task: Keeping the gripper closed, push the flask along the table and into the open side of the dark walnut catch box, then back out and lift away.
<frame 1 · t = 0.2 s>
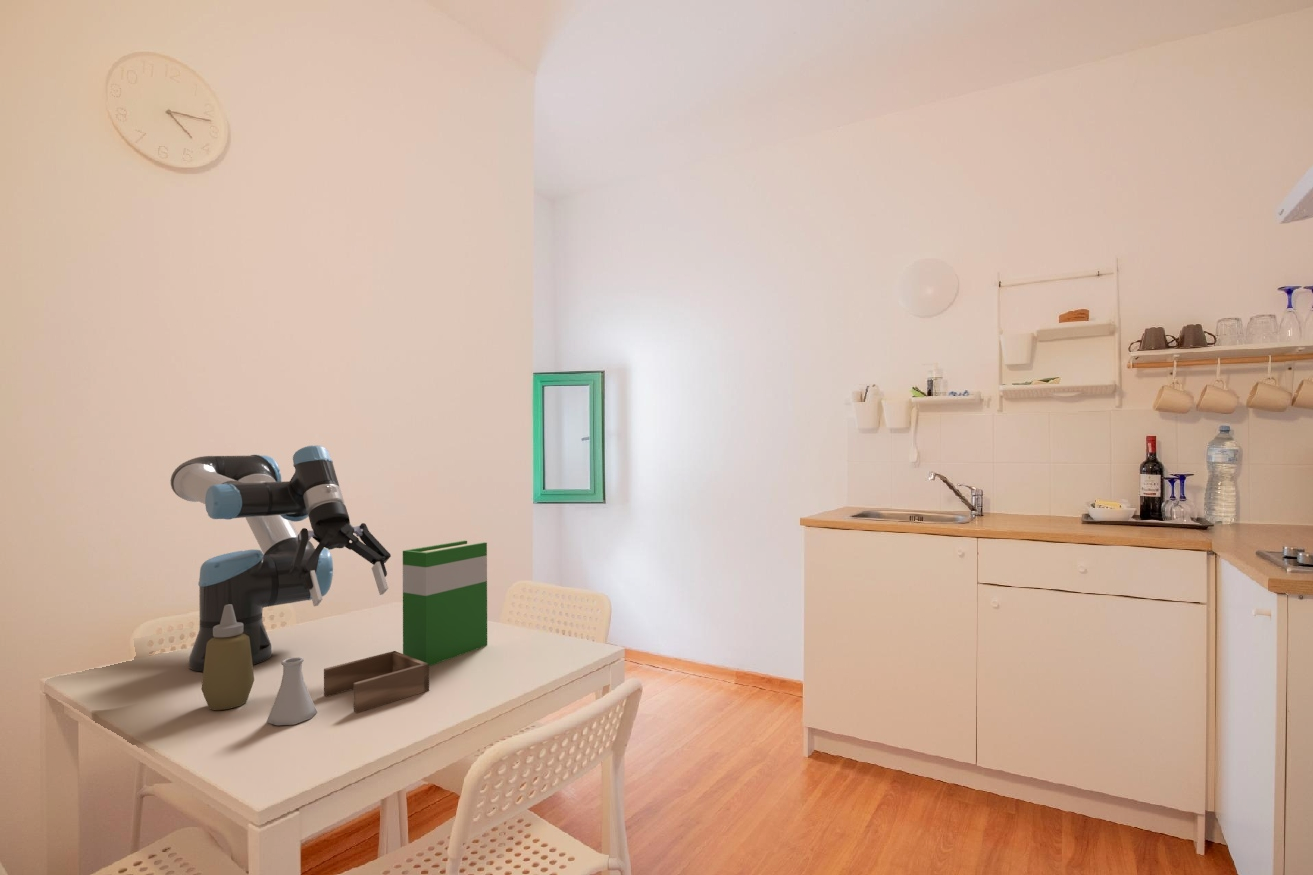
hand: (352, 597, 136), 16 cm above the table, tool tilted 35°, fingers open, 13 cm apart
flask: (292, 719, 114), on the table
hardback book: (446, 653, 149), on the table
squeeze bottle: (228, 705, 120), on the table
catch box: (376, 692, 125), on the table
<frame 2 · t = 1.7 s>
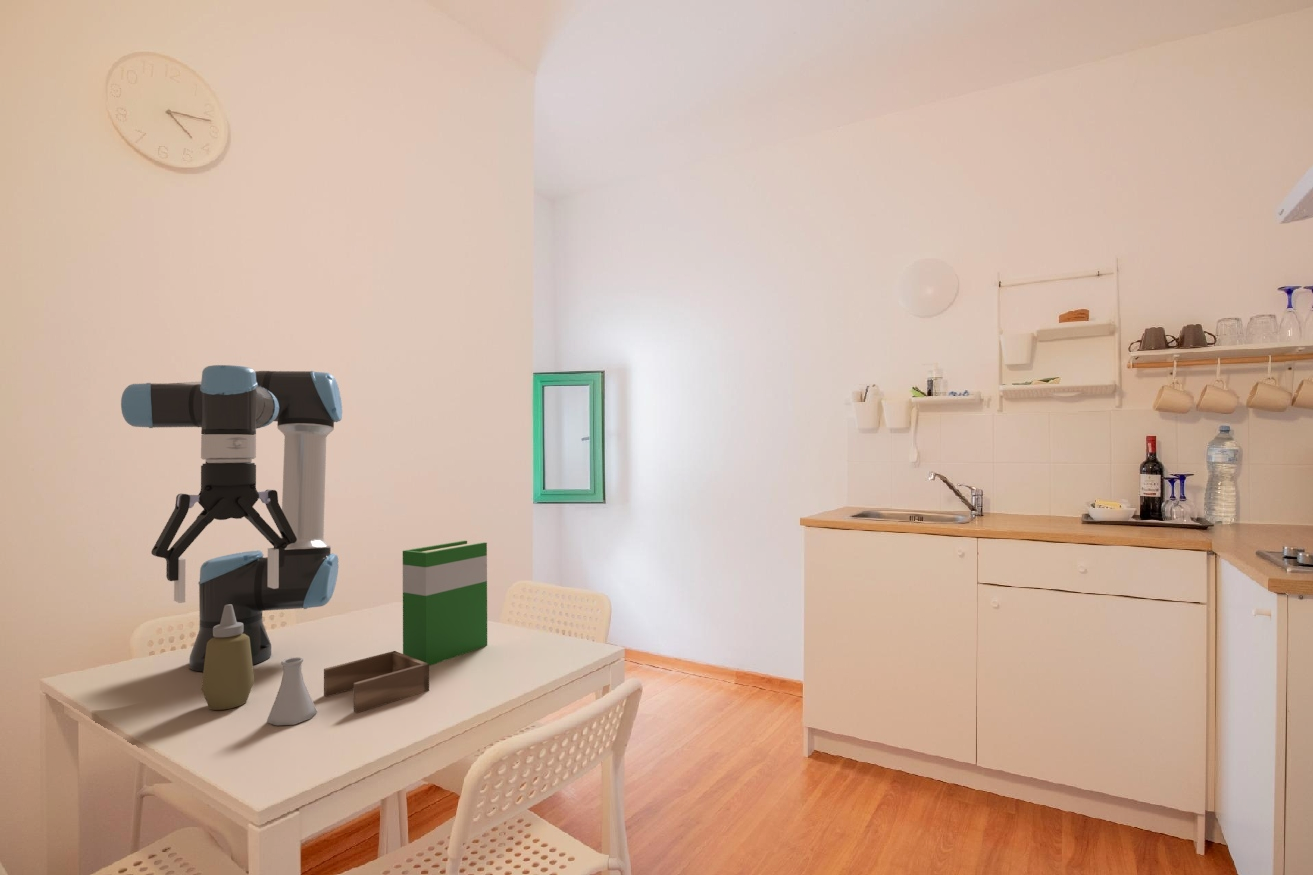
hand: (228, 594, 107), 23 cm above the table, tool pointing down, fingers open, 12 cm apart
nothing on the table moved.
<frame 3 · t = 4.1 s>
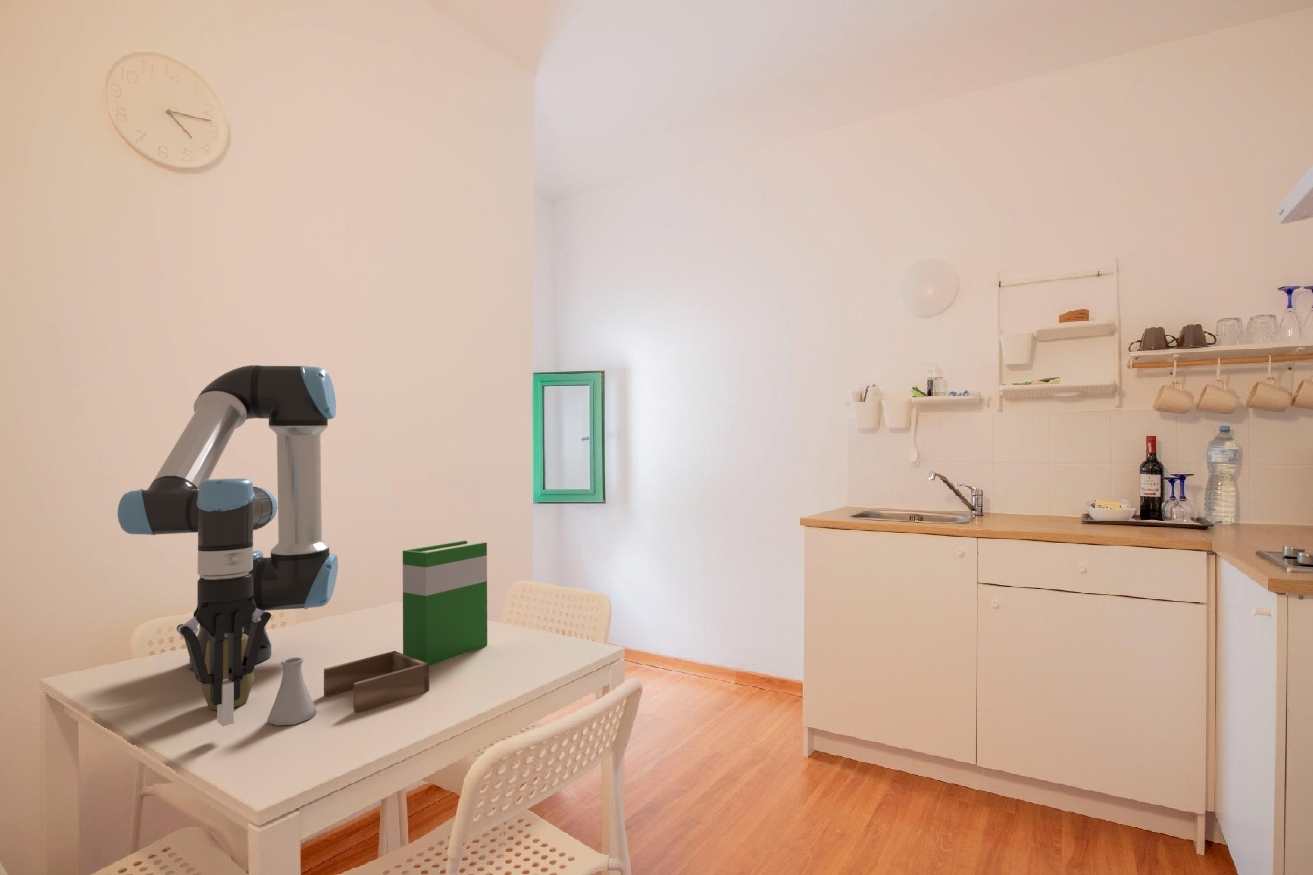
hand: (225, 722, 106), 2 cm above the table, tool pointing down, fingers closed
nothing on the table moved.
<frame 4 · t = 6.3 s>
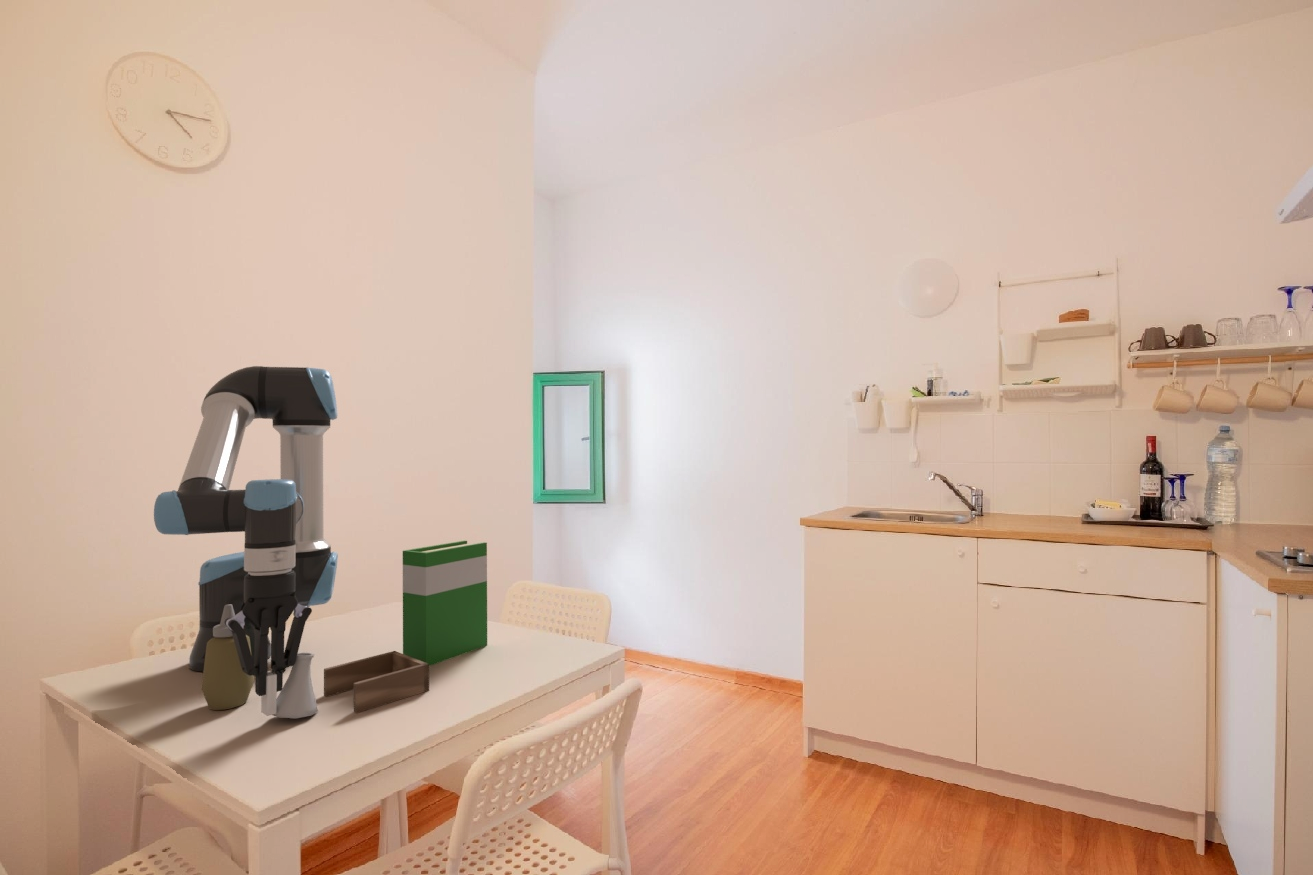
hand: (268, 712, 111), 2 cm above the table, tool pointing down, fingers closed
flask: (292, 715, 114), on the table, touching gripper, hand
everything else where it was.
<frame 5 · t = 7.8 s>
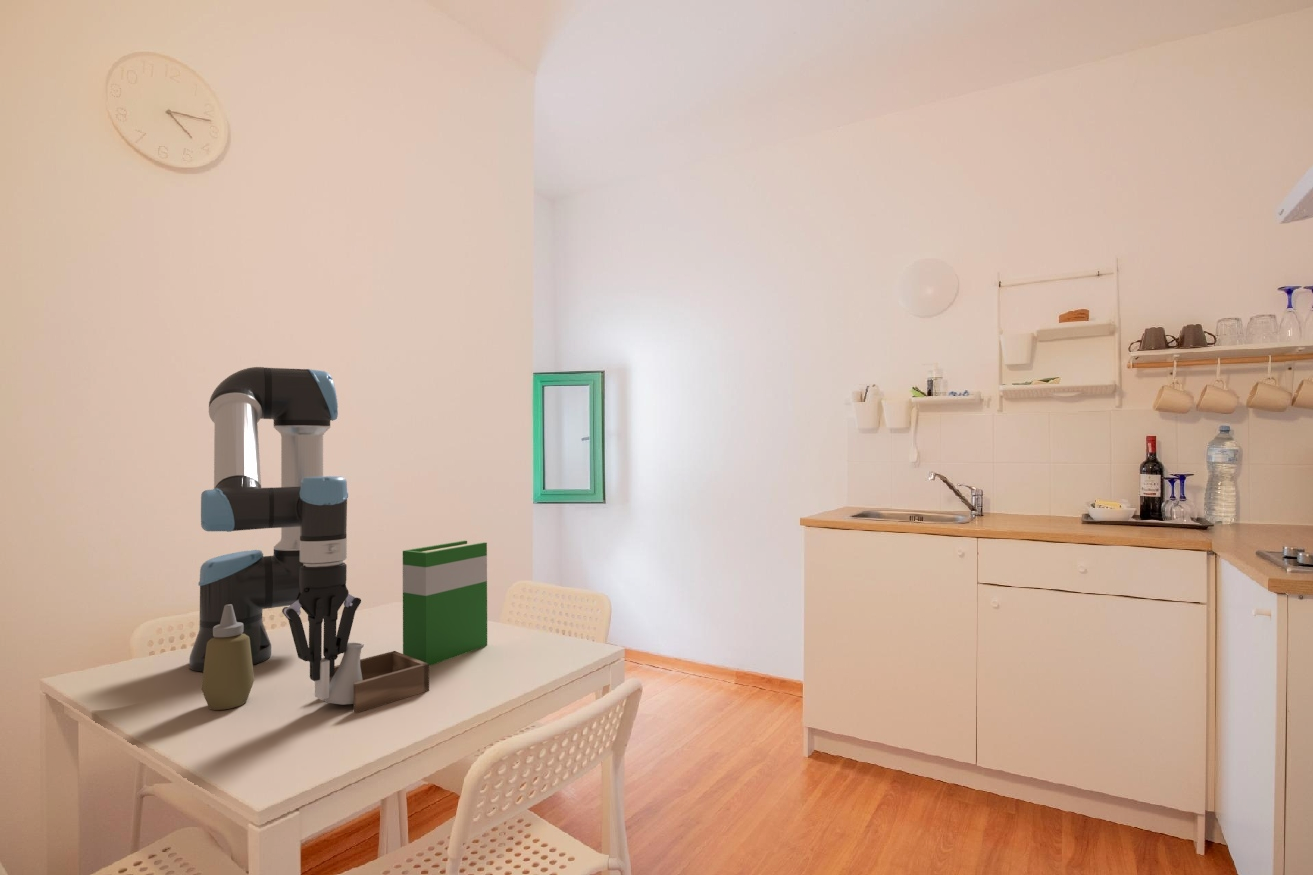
hand: (322, 696, 117), 2 cm above the table, tool pointing down, fingers closed
flask: (343, 701, 120), on the table, touching gripper, hand
everything else where it was.
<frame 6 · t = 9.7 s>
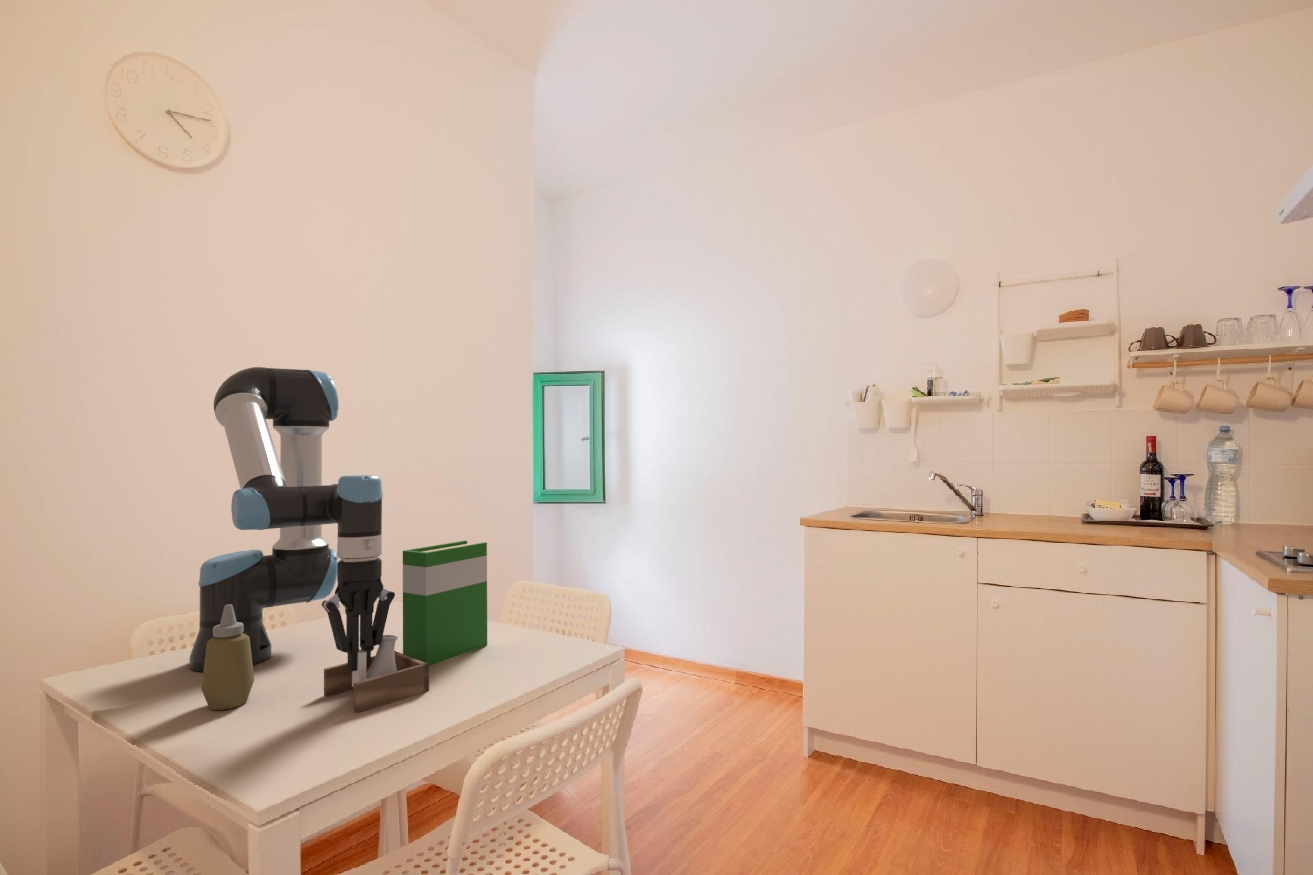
hand: (359, 686, 122), 2 cm above the table, tool pointing down, fingers closed
flask: (379, 691, 125), on the table, touching gripper, hand
everything else where it was.
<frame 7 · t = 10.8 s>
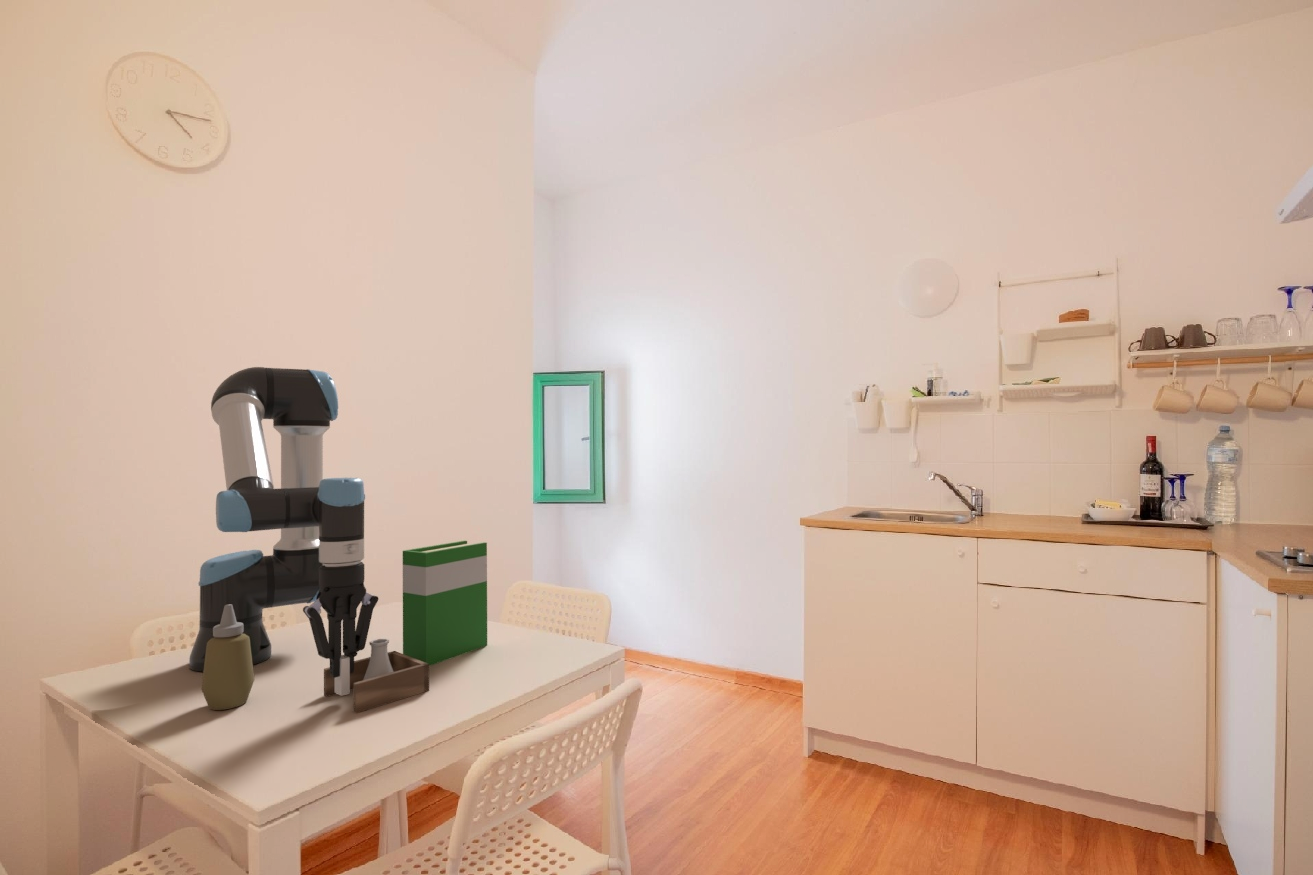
hand: (342, 692, 120), 2 cm above the table, tool pointing down, fingers closed
flask: (379, 695, 125), on the table
everything else where it was.
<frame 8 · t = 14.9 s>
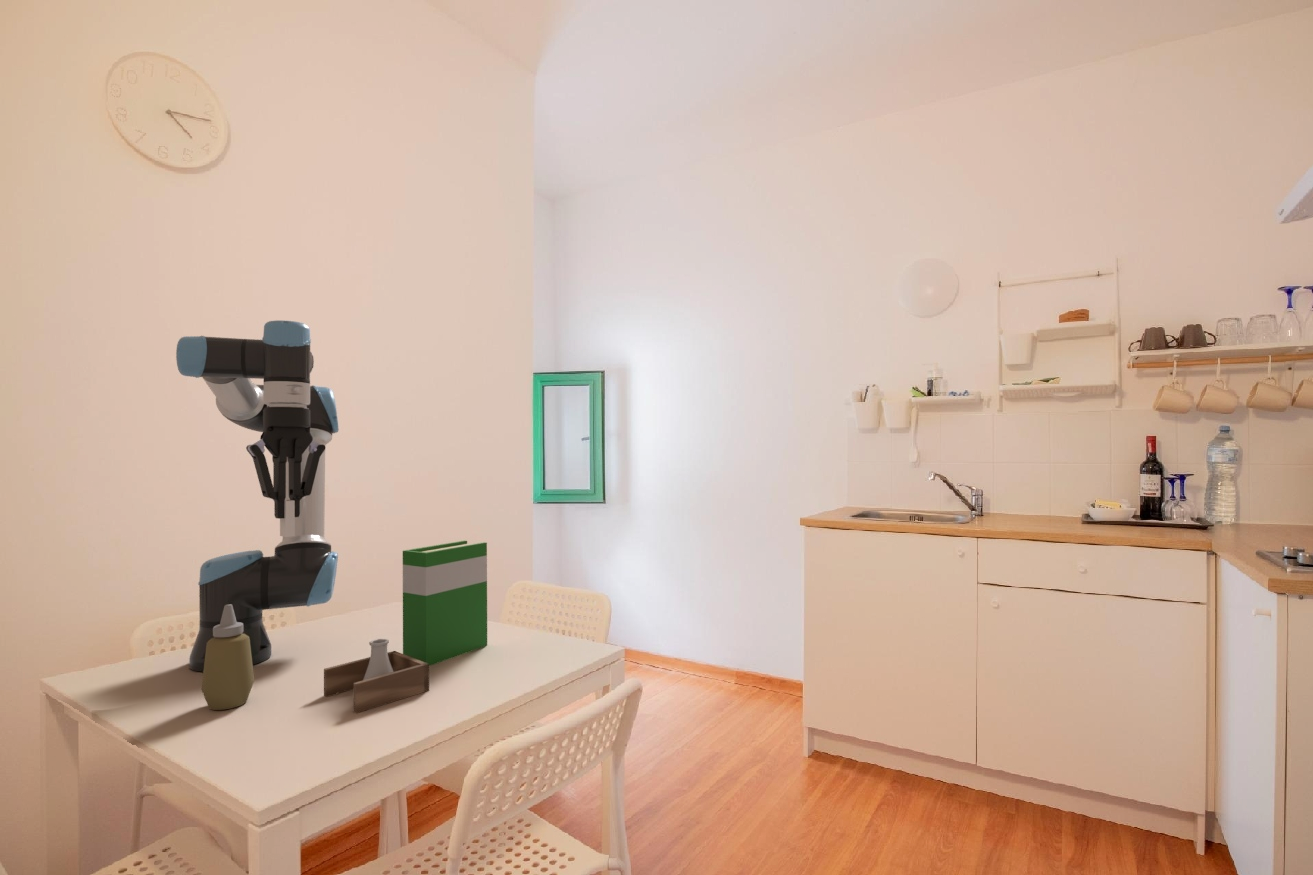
hand: (287, 535, 121), 30 cm above the table, tool pointing down, fingers closed
nothing on the table moved.
at the end: flask inside the target area on the catch box (1.0 cm from its centre), point 0.0 cm above the catch box's base; flask tilted 0°; the gripper is holding nothing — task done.
